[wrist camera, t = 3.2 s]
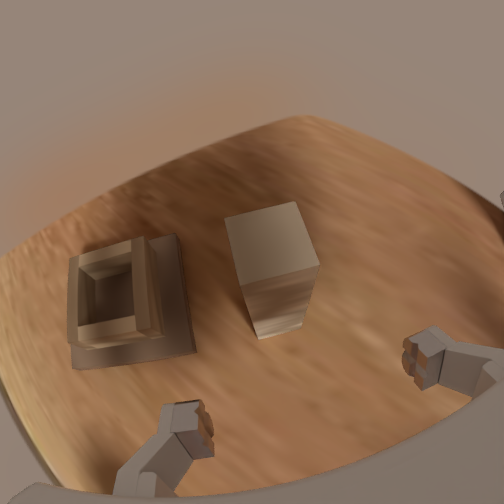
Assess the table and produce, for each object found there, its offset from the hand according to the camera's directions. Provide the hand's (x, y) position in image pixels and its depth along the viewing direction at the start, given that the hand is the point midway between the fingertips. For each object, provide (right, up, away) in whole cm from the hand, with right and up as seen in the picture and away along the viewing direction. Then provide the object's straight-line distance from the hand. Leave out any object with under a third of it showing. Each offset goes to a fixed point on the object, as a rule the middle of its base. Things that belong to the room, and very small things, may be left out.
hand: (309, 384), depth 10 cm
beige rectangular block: (0, 0, +14) cm, 14 cm away
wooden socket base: (-14, 0, +15) cm, 20 cm away
